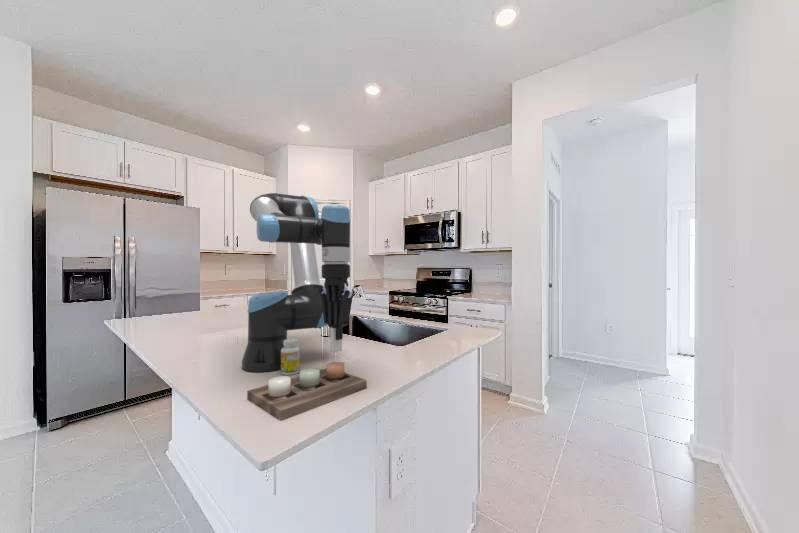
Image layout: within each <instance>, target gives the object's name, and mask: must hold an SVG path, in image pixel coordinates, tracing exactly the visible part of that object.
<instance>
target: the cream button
mask: <svg viewBox="0 0 799 533" xmlns="http://www.w3.org/2000/svg"><path fill="white" fill-rule="evenodd" d="M268 385H269V395H270V396H272V397H280V396H283V397H286V396H285V395H287V394H289V393H290V392H291V377H290V376H288V375H284V376H283V375H280V376H275V377H272V378H270V379H268ZM280 398H281V397H280Z"/></svg>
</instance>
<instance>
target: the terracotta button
mask: <svg viewBox="0 0 799 533" xmlns="http://www.w3.org/2000/svg"><path fill="white" fill-rule="evenodd" d="M325 366H326V368H325V369H326V376H327V377H328V378H341V377H343V376H344V375H345V373H346V372H345V370H346V369H345V367H346V365H345V362H343V361H330V362H328V363H326V365H325Z"/></svg>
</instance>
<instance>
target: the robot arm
mask: <svg viewBox="0 0 799 533" xmlns="http://www.w3.org/2000/svg"><path fill="white" fill-rule="evenodd" d="M249 213H250V215H251V217H252V218H253V220H254V221H255V222H256V237H257V240H258V241H260V242H265V243H271V244H273V243H282V244H283V243H284V244H285V243H287V244H288V243H289V244H290V253H291V254H290V255H291V261H292V270H293V271H292V273H293V280H294V287H293V289H292V290H291V294H289V293H288V291H286V290H277V291H276V290H275V291H268V292H262V293H257V294H255V295H252V296H250V298H249V299H248V307H247V308H248V309H247V313H248V314H247V315H248V317H247V318H248V319H247V320H248V321H247V322H248V324H247V344H246V347H245V350H244V354H243V356H242V359H241V369H242V370H244V371H246V372H250V373H251V372H253V373H263V372H264V373H267V372H273V371H278V370H281V349H282V348H283V347H284V346H283V341H284V340H287V339H288V331H294V330H295V331H296V330H307V329H319V328H324V327H327V326H328V327H329V339H330V340H329V343H330V344H329V345H330V346H329V349H330V350H329V352H330V353H332V354H334V353H339V352H342V351H343V347H342V346H343V343H342V342H343V341H342V340H343V332H344V330H343V329H344V327H346V326H348V325H349V323H350V322H349V321H350V317H351V310H352V303H353V298H354V296H355V293H356V291H355V289H350V288H349V282H348V279H349V278H350V277H351V265H350V264H349V263H350V262H351V245H350V244H351V214H350V213H351V212H350V209H349V207H347V206H345V205H339V204H328V205H324V206H323V207H322V208H321V213H320V211H319V206H318V203H317V201H316V200H315V199H314V198H313V197H310V196H305V195H293V194H286V193H285V194H284V193H277V192H275V193H274V192H273V193H272V192H270V193H269V192H268V193H264V194H261V195H259V196H256V197H255V198H254V199H253V200H252V201H251V203H250V205H249ZM319 213H320V214H321V215H319ZM315 245H318V246H321V262H322V263H323V264H322V265H321V278H322V279H324V282H323V283H324V284H321V282H320V274H319V268H318V267H319V266H318V263H317V253H316V249H315Z"/></svg>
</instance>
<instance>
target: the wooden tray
mask: <svg viewBox="0 0 799 533" xmlns="http://www.w3.org/2000/svg"><path fill="white" fill-rule="evenodd" d="M319 370H320V383H319V384H318V385H316V386H312V387H303V386H300V375H298V376H295V377H292V378H291V377H290V378H291V392H290V393H289V394H287V395H285V396H280V397H272V396H270V395H269V384H266V385H263V386H259V387H256V388H252V389H249V390H247V391H246V393H247V394H246V396H247V397H246V399H247V400H248V401H250V402H251V403H253V404H254V405H255V406H257V407H259V408H261V409H262V410H264V411H266V412H267V413H269V414H270V415H272V416H273V417H275V418H276V419H278V420H279V421H284V420H286V419H288V418H291V417H294V416H296V415H300V414H302V413H304V412H308V411H309V410H312V409H316V408H317V407H320V406H322V405H326V404H329V403H331V402H333V401H337V400H339V399H341V398H344V397H347V396H349V395H352V394H354V393H358V392H360V391H363V390H365V389H367V388H368V387H367V386H368V384H367V382H368V381H367V379H364V378H361V377H358V376H355V375H353V374H350V373H348V372H345V375H344V376H343V377H341V378H328V377H327V376H326V368H322V369H319ZM335 380H338V381H335ZM333 381H334V382H333ZM312 388H313V389H312ZM308 389H311V390H308ZM305 390H308V391H305ZM283 397H286V398H283ZM280 398H282V399H280ZM277 399H280V400H277ZM274 400H276V401H275V402H274Z"/></svg>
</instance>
